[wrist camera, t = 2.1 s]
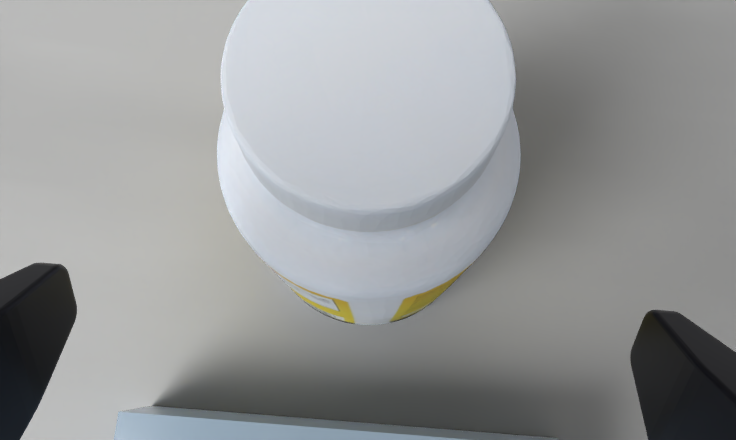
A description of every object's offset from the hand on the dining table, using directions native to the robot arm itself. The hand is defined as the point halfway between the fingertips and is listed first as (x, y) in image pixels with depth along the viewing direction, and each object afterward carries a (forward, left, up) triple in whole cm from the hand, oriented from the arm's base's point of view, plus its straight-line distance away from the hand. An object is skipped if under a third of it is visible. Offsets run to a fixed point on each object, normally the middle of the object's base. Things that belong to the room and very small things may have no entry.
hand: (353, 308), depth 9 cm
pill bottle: (+3, -3, -11) cm, 11 cm away
